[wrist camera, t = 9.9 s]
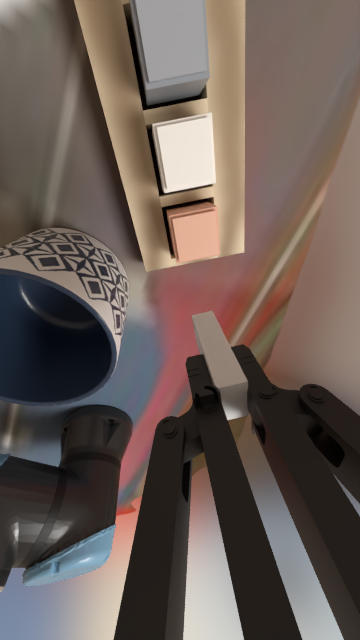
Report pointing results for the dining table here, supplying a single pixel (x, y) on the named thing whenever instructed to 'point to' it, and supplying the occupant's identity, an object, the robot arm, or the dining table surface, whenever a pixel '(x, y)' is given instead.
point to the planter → (59, 317)
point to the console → (132, 122)
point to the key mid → (185, 152)
